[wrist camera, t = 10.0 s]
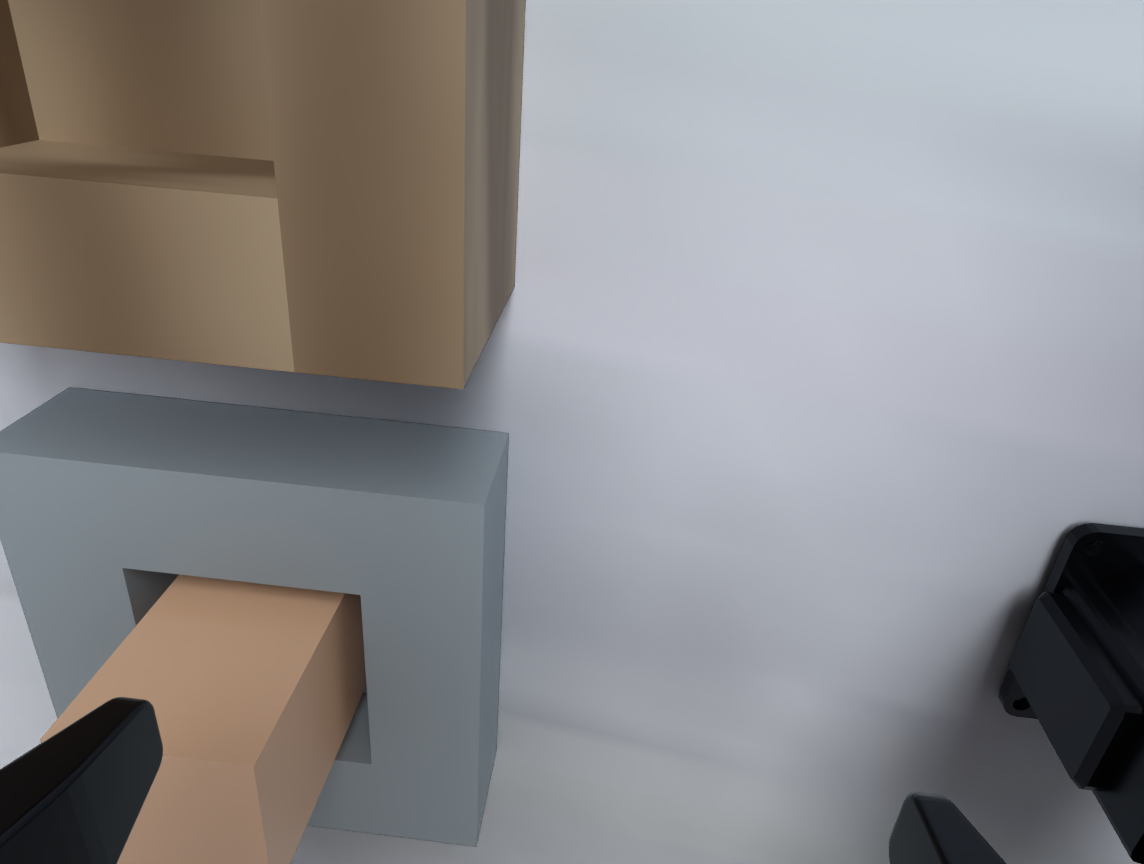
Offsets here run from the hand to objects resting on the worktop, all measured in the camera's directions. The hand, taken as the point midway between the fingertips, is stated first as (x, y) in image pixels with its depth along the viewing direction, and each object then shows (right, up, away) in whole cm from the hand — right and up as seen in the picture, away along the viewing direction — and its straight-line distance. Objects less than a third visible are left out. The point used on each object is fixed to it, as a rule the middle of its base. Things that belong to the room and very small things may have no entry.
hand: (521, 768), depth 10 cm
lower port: (-7, -1, +15) cm, 16 cm away
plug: (-7, -1, +14) cm, 16 cm away
